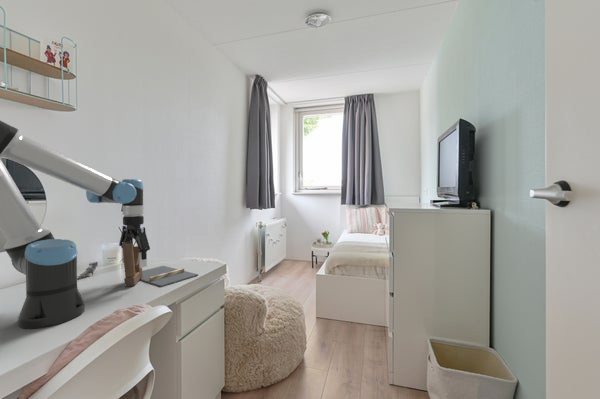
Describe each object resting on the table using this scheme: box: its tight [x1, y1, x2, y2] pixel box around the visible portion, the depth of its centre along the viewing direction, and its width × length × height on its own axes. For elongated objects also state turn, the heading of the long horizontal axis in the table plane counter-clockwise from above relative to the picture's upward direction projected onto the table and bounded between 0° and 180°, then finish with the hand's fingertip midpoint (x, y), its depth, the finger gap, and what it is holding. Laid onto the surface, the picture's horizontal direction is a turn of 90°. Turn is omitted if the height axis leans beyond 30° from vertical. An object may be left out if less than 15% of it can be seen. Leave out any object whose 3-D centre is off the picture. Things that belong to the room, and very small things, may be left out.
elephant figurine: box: [77, 261, 99, 279], centre depth 125 cm, size 10×6×9 cm
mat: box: [139, 265, 199, 288], centre depth 125 cm, size 18×28×1 cm, turn 58°
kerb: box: [150, 267, 185, 281], centre depth 123 cm, size 16×1×2 cm, turn 148°
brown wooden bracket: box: [121, 241, 143, 287], centre depth 115 cm, size 4×11×18 cm, turn 14°
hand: (134, 264), depth 115 cm, fingers open, 13 cm apart
